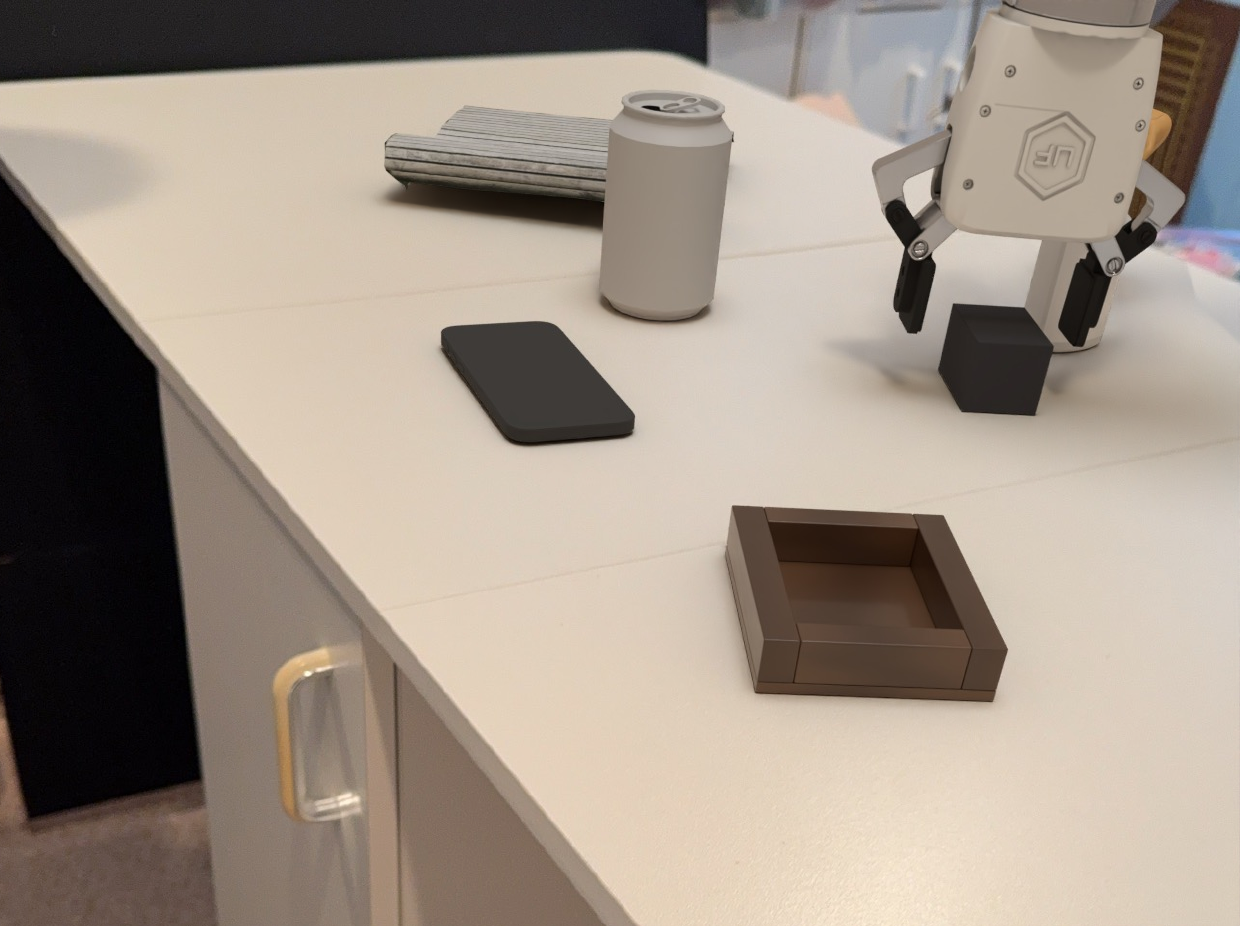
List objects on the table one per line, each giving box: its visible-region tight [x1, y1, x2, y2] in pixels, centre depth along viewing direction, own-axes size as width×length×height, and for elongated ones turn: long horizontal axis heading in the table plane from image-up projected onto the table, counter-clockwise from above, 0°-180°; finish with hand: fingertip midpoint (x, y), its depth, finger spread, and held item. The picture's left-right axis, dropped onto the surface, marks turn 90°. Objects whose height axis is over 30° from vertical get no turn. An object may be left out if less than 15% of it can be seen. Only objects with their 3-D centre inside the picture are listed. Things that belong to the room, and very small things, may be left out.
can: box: [598, 89, 733, 322], centre depth 90 cm, size 8×8×12 cm
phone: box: [440, 320, 636, 443], centre depth 81 cm, size 7×1×15 cm
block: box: [937, 302, 1054, 416], centre depth 85 cm, size 6×4×4 cm
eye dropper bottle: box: [1023, 201, 1133, 353], centre depth 89 cm, size 4×6×12 cm
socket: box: [724, 504, 1009, 702], centre depth 63 cm, size 10×12×2 cm
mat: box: [383, 105, 735, 203], centre depth 112 cm, size 23×24×5 cm
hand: (989, 332), depth 84 cm, fingers open, 9 cm apart
